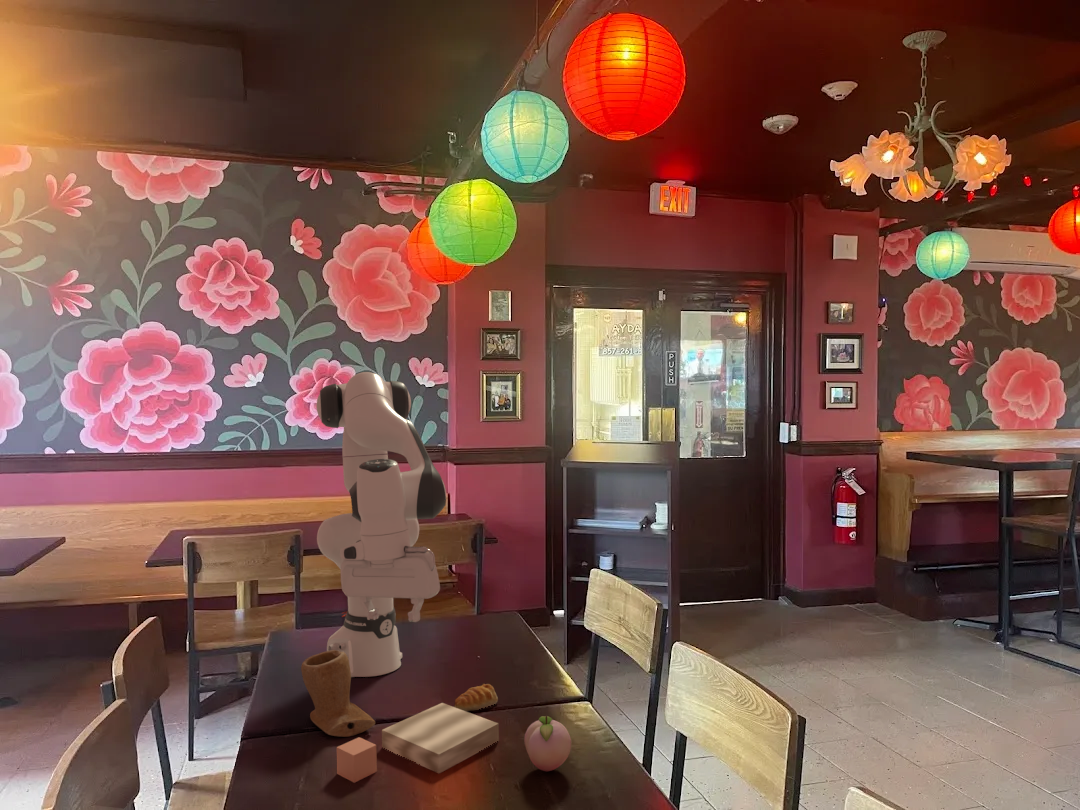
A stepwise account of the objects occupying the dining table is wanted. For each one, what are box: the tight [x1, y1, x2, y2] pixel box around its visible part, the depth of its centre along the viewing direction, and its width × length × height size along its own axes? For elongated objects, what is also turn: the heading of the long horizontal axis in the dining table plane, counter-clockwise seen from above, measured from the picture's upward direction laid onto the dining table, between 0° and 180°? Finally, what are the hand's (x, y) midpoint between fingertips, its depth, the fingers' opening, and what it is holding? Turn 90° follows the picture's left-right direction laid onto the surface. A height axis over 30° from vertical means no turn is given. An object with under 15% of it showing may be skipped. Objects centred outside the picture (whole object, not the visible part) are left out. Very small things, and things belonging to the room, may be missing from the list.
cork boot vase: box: [300, 650, 376, 738], centre depth 158 cm, size 15×12×15 cm
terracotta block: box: [336, 737, 378, 784], centre depth 140 cm, size 5×5×5 cm
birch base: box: [381, 702, 500, 774], centre depth 150 cm, size 16×16×4 cm
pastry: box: [453, 683, 499, 712], centre depth 169 cm, size 9×7×4 cm
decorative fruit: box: [524, 715, 572, 773], centre depth 139 cm, size 9×8×10 cm
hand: (393, 620), depth 144 cm, fingers open, 8 cm apart
